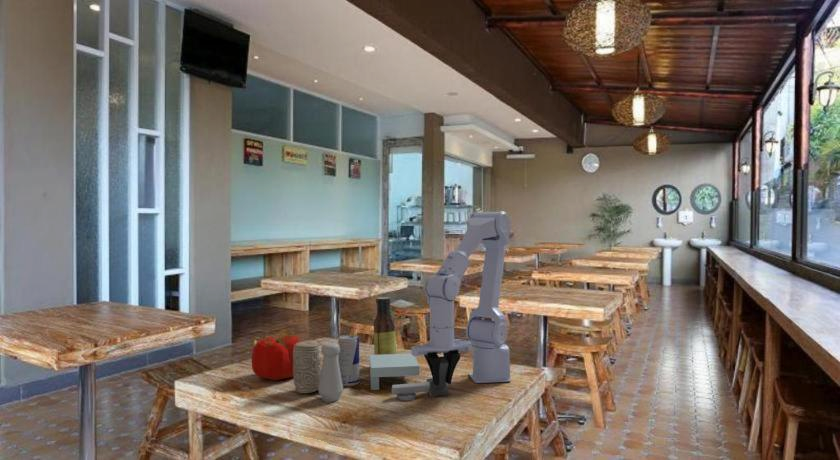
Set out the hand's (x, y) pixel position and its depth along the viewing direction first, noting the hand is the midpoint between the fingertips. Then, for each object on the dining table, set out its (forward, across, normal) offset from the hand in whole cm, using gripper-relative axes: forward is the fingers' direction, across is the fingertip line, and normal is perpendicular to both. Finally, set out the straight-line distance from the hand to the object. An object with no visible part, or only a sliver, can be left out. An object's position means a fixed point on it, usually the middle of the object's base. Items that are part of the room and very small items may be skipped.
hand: (442, 383), depth 119 cm
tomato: (+4, +35, -31) cm, 47 cm away
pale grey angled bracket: (+3, +7, -16) cm, 18 cm away
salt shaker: (+4, +25, -9) cm, 26 cm away
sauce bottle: (+4, +6, -29) cm, 30 cm away
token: (+4, +8, -3) cm, 9 cm away
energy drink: (+4, +18, -18) cm, 26 cm away
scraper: (+2, +4, -4) cm, 6 cm away
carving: (+4, +29, -16) cm, 33 cm away
